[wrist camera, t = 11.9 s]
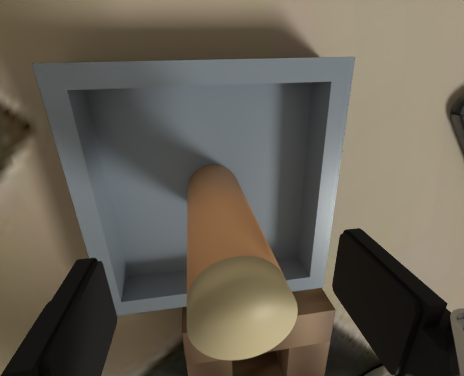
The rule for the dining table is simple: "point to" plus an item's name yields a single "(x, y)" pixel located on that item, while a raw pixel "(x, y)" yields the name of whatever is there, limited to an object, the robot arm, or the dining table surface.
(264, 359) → the pin block
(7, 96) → the dining table surface
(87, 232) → the tray
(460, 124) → the phone
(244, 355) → the peg
